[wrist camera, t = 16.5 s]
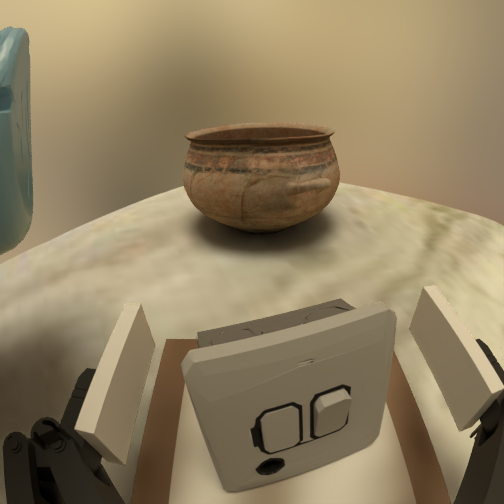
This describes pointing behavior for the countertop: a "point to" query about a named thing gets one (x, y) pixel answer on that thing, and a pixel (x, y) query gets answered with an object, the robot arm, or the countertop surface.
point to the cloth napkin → (295, 487)
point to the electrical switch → (291, 389)
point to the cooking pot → (261, 174)
